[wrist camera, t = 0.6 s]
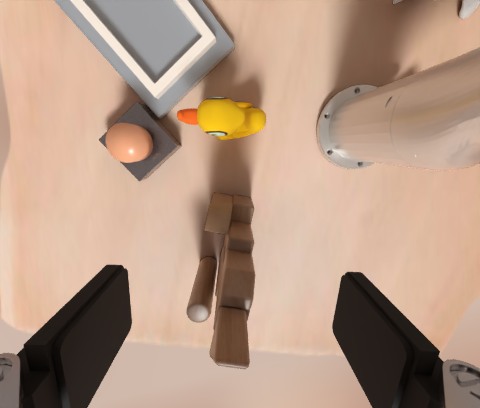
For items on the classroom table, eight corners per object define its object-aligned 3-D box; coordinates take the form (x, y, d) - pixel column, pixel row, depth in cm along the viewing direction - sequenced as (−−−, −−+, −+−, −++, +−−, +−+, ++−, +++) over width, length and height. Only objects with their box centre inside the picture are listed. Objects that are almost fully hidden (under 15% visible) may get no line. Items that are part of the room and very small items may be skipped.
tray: (132, -90, 29) (120, -116, 26) (234, 48, 33) (234, 39, 30) (56, -1, 31) (38, -15, 28) (161, 118, 35) (154, 116, 33)
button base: (144, 105, 35) (136, 101, 32) (181, 146, 37) (177, 146, 34) (109, 140, 36) (98, 139, 33) (146, 178, 38) (139, 181, 35)
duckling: (190, 139, 36) (174, 138, 27) (188, 103, 35) (172, 88, 25) (261, 140, 37) (270, 140, 27) (262, 105, 35) (273, 90, 26)
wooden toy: (212, 189, 39) (178, 267, 15) (251, 197, 39) (280, 284, 15) (198, 269, 42) (152, 436, 18) (233, 275, 43) (234, 445, 19)
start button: (134, 116, 31) (124, 114, 29) (160, 145, 33) (153, 145, 30) (109, 141, 32) (97, 140, 29) (135, 168, 33) (126, 170, 30)
